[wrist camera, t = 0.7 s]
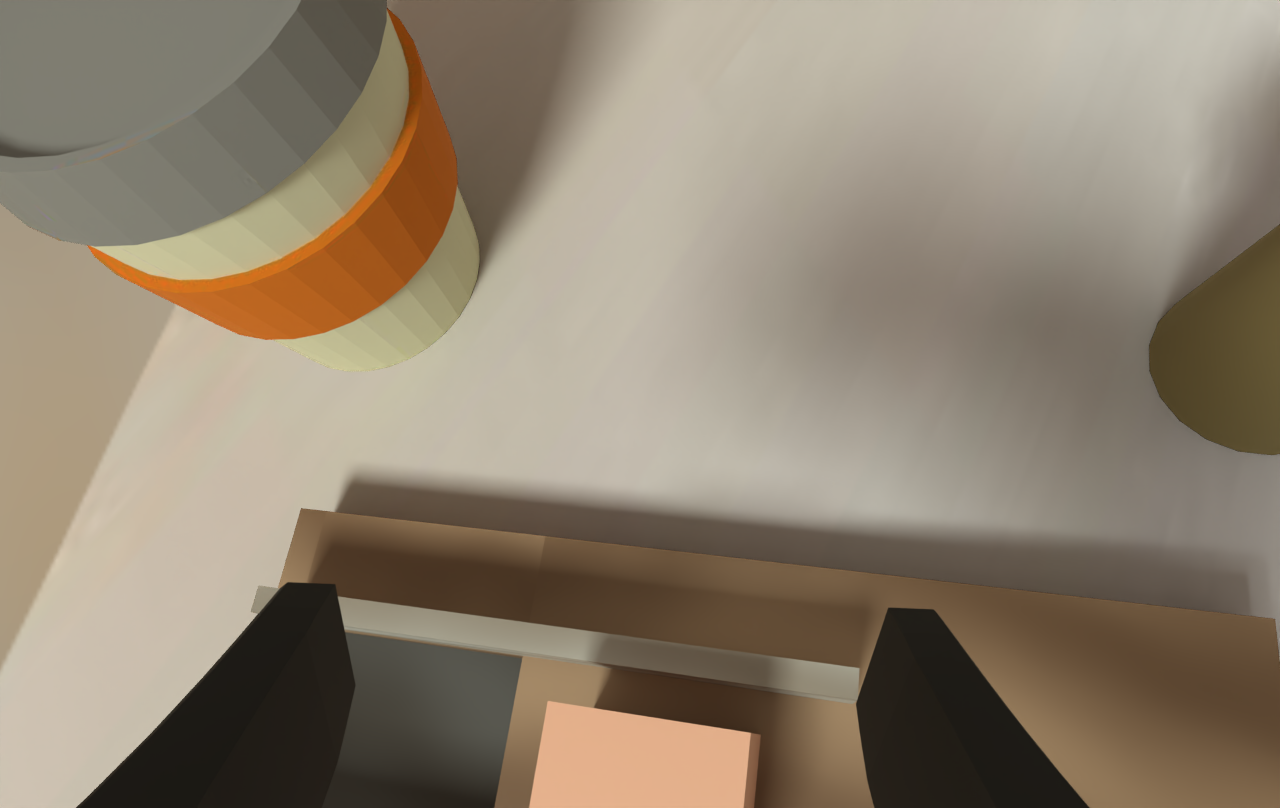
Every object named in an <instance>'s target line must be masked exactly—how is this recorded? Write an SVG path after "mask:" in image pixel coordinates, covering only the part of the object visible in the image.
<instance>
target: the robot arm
mask: <svg viewBox="0 0 1280 808" xmlns="http://www.w3.org/2000/svg"><path fill="white" fill-rule="evenodd" d="M355 686H356V684H355V679H354V674H353V669H352V664H351V659H350V654H349V649H348V644H347V640H346V635H345V630H344V625H343V620H342V615H341V610H340V605H339V600H338V595H337V590H336V585H335V584H321V583H298V582H287V583H286V584H285V585H283V586H282V587H281V588H280V589H279V590H278V591H277V592H276V593H275V595H274V596H273V597H272V598H271V599H270V601H269V602H268V603H267V604H266V605H265V606H264V608H263V609H262V610H261V611H260V612H259V614H258V615H257V616H256V617H255V618H254V619H253V621H252V622H251V623H250V624H249V625H248V626H247V628H246V629H245V630H244V631H243V632H242V634H241V635H240V636H239V637H238V638H237V639H236V640H235V642H234V643H233V644H232V645H231V646H230V647H229V648H228V650H227V651H226V652H225V653H224V654H223V655H222V656H221V658H220V659H219V660H218V661H217V662H216V663H215V664H214V665H213V667H212V668H211V669H210V670H209V671H208V672H207V673H206V675H205V676H204V677H203V678H202V679H201V680H200V681H199V682H198V683H197V684H196V685H195V687H194V688H193V689H192V690H191V691H190V692H189V693H188V694H187V695H186V696H185V697H184V698H183V699H182V701H181V702H180V703H179V704H178V705H177V706H176V707H175V708H174V709H173V710H172V711H171V712H170V714H169V715H168V716H167V717H166V718H165V719H164V720H163V721H162V722H161V723H160V724H159V725H158V726H157V728H156V729H155V730H154V731H153V732H152V733H151V734H150V735H149V736H148V737H147V738H146V739H145V740H144V741H143V742H142V743H141V744H140V745H139V746H138V747H137V748H136V749H135V750H134V751H133V752H132V753H131V754H130V755H129V756H128V757H127V758H126V759H125V760H124V761H123V762H122V763H121V764H120V765H119V766H118V767H117V768H116V769H115V770H114V771H113V772H112V773H111V774H110V775H109V776H108V777H107V778H106V779H105V780H104V781H103V782H102V783H101V784H100V785H99V786H98V787H97V788H96V789H95V790H94V791H93V792H92V793H91V794H90V795H89V796H88V797H87V798H86V799H85V800H84V801H83V802H82V803H81V804H79V805H78V806H77V807H76V808H322V806H323V803H324V800H325V797H326V794H327V792H328V789H329V786H330V783H331V780H332V777H333V774H334V771H335V769H336V766H337V763H338V759H339V755H340V750H341V746H342V742H343V738H344V734H345V730H346V726H347V721H348V717H349V713H350V708H351V704H352V699H353V695H354V690H355ZM856 709H857V716H858V723H859V730H860V738H861V745H862V751H863V757H864V763H865V770H866V776H867V782H868V786H869V789H870V793H871V797H872V801H873V805H874V808H1090V807H1089V806H1088V805H1087V804H1086V803H1085V801H1084V800H1083V799H1082V798H1081V797H1080V796H1079V794H1078V793H1077V792H1076V791H1075V790H1074V788H1073V787H1072V786H1071V785H1070V784H1069V783H1068V781H1067V780H1066V779H1065V778H1064V777H1063V775H1062V774H1061V773H1060V772H1059V771H1058V769H1057V768H1056V767H1055V766H1054V764H1053V763H1052V762H1051V761H1050V759H1049V758H1048V757H1047V756H1046V754H1045V753H1044V752H1043V751H1042V750H1041V748H1040V747H1039V746H1038V745H1037V743H1036V742H1035V741H1034V740H1033V738H1032V737H1031V736H1030V735H1029V733H1028V732H1027V731H1026V730H1025V728H1024V727H1023V726H1022V725H1021V723H1020V722H1019V721H1018V720H1017V718H1016V717H1015V716H1014V714H1013V713H1012V712H1011V711H1010V709H1009V708H1008V707H1007V705H1006V704H1005V703H1004V701H1003V700H1002V699H1001V698H1000V696H999V695H998V694H997V692H996V691H995V690H994V688H993V687H992V686H991V684H990V683H989V682H988V680H987V679H986V678H985V676H984V675H983V674H982V672H981V671H980V670H979V668H978V667H977V666H976V664H975V663H974V662H973V660H972V659H971V658H970V656H969V655H968V654H967V652H966V651H965V650H964V648H963V647H962V645H961V644H960V643H959V641H958V640H957V639H956V637H955V636H954V635H953V633H952V632H951V631H950V629H949V628H948V627H947V625H946V624H945V622H944V621H943V620H942V618H941V617H940V616H939V615H938V613H937V612H936V611H935V610H934V609H914V608H890V607H888V610H887V613H886V616H885V619H884V622H883V625H882V628H881V631H880V633H879V636H878V639H877V642H876V645H875V648H874V651H873V654H872V657H871V660H870V663H869V666H868V669H867V672H866V675H865V678H864V681H863V684H862V687H861V690H860V693H859V696H858V699H857V702H856Z"/></svg>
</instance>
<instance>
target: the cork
mask: <svg viewBox="0 0 1280 808" xmlns="http://www.w3.org/2000/svg"><path fill="white" fill-rule="evenodd" d="M1149 359H1150V373H1151V375H1152V378H1153V381H1154V383H1155V386H1156V388H1157V391H1158V393H1159V396H1160V397H1161V399H1162V400H1163V401H1164V402H1165V404H1166V405H1167V406H1168V407H1169V408H1170V410H1171V411H1172V412H1173V413H1174V414H1175V416H1176V417H1177V418H1178V419H1179V420H1180V421H1181V422H1182V423H1184V424H1185V425H1187V426H1188V427H1190V428H1191V429H1192V430H1194V431H1195V432H1197V433H1198V434H1200V435H1201V436H1202V437H1204V438H1205V439H1207V440H1210V441H1212V442H1215V443H1218V444H1220V445H1223V446H1226V447H1228V448H1231V449H1234V450H1236V451H1240V452H1249V453H1258V454H1267V455H1276V454H1280V225H1278V226H1277V227H1276V228H1274V229H1273V230H1272V231H1270V232H1269V233H1268V234H1266V235H1265V236H1264V237H1263V238H1261V239H1260V240H1259V241H1257V242H1256V243H1255V244H1253V245H1252V246H1251V247H1249V248H1248V249H1247V250H1246V251H1244V252H1243V253H1242V254H1240V255H1239V256H1238V257H1236V258H1235V259H1234V260H1232V261H1231V262H1230V263H1228V264H1227V265H1226V266H1225V267H1223V268H1222V269H1221V270H1219V271H1218V272H1217V273H1215V274H1214V275H1213V276H1211V277H1210V278H1209V279H1207V280H1206V281H1205V282H1204V283H1202V284H1201V285H1200V286H1198V287H1197V288H1196V289H1194V290H1193V291H1192V292H1190V293H1189V294H1188V295H1187V296H1185V297H1184V298H1183V299H1181V300H1180V301H1179V302H1177V303H1176V304H1175V305H1174V306H1173V307H1172V308H1171V309H1170V310H1169V311H1168V313H1167V314H1166V315H1165V316H1164V317H1163V318H1162V319H1161V320H1160V321H1159V322H1158V324H1157V327H1156V329H1155V332H1154V335H1153V337H1152V340H1151V342H1150V345H1149Z"/></svg>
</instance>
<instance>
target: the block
mask: <svg viewBox="0 0 1280 808" xmlns="http://www.w3.org/2000/svg"><path fill="white" fill-rule="evenodd" d="M760 738H761V735H759V734H754V733H748V732H742V731H736V730H729V729H723V728H717V727H710V726H704V725H697V724H691V723H685V722H678V721H672V720H666V719H659V718H653V717H647V716H640V715H634V714H628V713H621V712H615V711H609V710H602V709H596V708H590V707H583V706H577V705H571V704H564V703H558V702H552V701H548V702H547V708H546V714H545V720H544V725H543V731H542V737H541V742H540V748H539V754H538V759H537V765H536V771H535V777H534V782H533V788H532V794H531V799H530V805H529V808H754V803H755V792H756V781H757V770H758V760H759V749H760Z"/></svg>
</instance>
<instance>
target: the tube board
mask: <svg viewBox="0 0 1280 808" xmlns="http://www.w3.org/2000/svg"><path fill="white" fill-rule="evenodd" d="M287 582H298V583H321V584H335V585H336V590H337V595H338V600H339V605H340V610H341V615H342V620H343V625H344V630H345V635H346V640H347V644H348V649H349V654H350V659H351V664H352V669H353V674H354V679H355V684H356V686H355V690H354V695H353V699H352V704H351V708H350V713H349V717H348V721H347V726H346V730H345V734H344V738H343V742H342V746H341V750H340V755H339V759H338V763H337V766H336V769H335V771H334V774H333V777H332V780H331V783H330V786H329V789H328V792H327V794H326V797H325V800H324V803H323V806H322V808H529V805H530V799H531V794H532V788H533V782H534V777H535V771H536V765H537V759H538V754H539V748H540V742H541V737H542V731H543V725H544V720H545V714H546V708H547V702H548V701H552V702H558V703H564V704H571V705H577V706H583V707H590V708H596V709H602V710H609V711H615V712H621V713H628V714H634V715H640V716H647V717H653V718H659V719H666V720H672V721H678V722H685V723H691V724H697V725H704V726H710V727H717V728H723V729H729V730H736V731H742V732H748V733H754V734H759V735H761V738H760V749H759V760H758V770H757V781H756V792H755V803H754V808H874V805H873V801H872V797H871V793H870V789H869V786H868V782H867V776H866V770H865V763H864V757H863V751H862V745H861V738H860V730H859V723H858V716H857V709H856V702H857V699H858V696H859V693H860V690H861V687H862V684H863V681H864V678H865V675H866V672H867V669H868V666H869V663H870V660H871V657H872V654H873V651H874V648H875V645H876V642H877V639H878V636H879V633H880V631H881V628H882V625H883V622H884V619H885V616H886V613H887V610H888V607H890V608H914V609H934V610H935V611H936V612H937V613H938V615H939V616H940V617H941V618H942V620H943V621H944V622H945V624H946V625H947V627H948V628H949V629H950V631H951V632H952V633H953V635H954V636H955V637H956V639H957V640H958V641H959V643H960V644H961V645H962V647H963V648H964V650H965V651H966V652H967V654H968V655H969V656H970V658H971V659H972V660H973V662H974V663H975V664H976V666H977V667H978V668H979V670H980V671H981V672H982V674H983V675H984V676H985V678H986V679H987V680H988V682H989V683H990V684H991V686H992V687H993V688H994V690H995V691H996V692H997V694H998V695H999V696H1000V698H1001V699H1002V700H1003V701H1004V703H1005V704H1006V705H1007V707H1008V708H1009V709H1010V711H1011V712H1012V713H1013V714H1014V716H1015V717H1016V718H1017V720H1018V721H1019V722H1020V723H1021V725H1022V726H1023V727H1024V728H1025V730H1026V731H1027V732H1028V733H1029V735H1030V736H1031V737H1032V738H1033V740H1034V741H1035V742H1036V743H1037V745H1038V746H1039V747H1040V748H1041V750H1042V751H1043V752H1044V753H1045V754H1046V756H1047V757H1048V758H1049V759H1050V761H1051V762H1052V763H1053V764H1054V766H1055V767H1056V768H1057V769H1058V771H1059V772H1060V773H1061V774H1062V775H1063V777H1064V778H1065V779H1066V780H1067V781H1068V783H1069V784H1070V785H1071V786H1072V787H1073V788H1074V790H1075V791H1076V792H1077V793H1078V794H1079V796H1080V797H1081V798H1082V799H1083V800H1084V801H1085V803H1086V804H1087V805H1088V806H1089V807H1090V808H1280V661H1279V651H1278V642H1277V632H1276V623H1275V619H1272V618H1263V617H1254V616H1245V615H1236V614H1228V613H1219V612H1210V611H1201V610H1192V609H1184V608H1175V607H1166V606H1157V605H1148V604H1140V603H1131V602H1122V601H1113V600H1104V599H1095V598H1087V597H1078V596H1069V595H1060V594H1051V593H1043V592H1034V591H1025V590H1016V589H1007V588H999V587H990V586H981V585H972V584H963V583H954V582H946V581H937V580H928V579H919V578H910V577H902V576H893V575H884V574H875V573H866V572H858V571H849V570H840V569H831V568H822V567H813V566H805V565H796V564H787V563H778V562H769V561H761V560H752V559H743V558H734V557H725V556H717V555H708V554H699V553H690V552H681V551H672V550H664V549H655V548H646V547H637V546H628V545H620V544H611V543H602V542H593V541H584V540H576V539H567V538H558V537H549V536H540V535H532V534H523V533H514V532H505V531H496V530H487V529H479V528H470V527H461V526H452V525H443V524H435V523H426V522H417V521H408V520H399V519H391V518H382V517H373V516H364V515H355V514H346V513H338V512H329V511H320V510H311V509H302V508H301V511H300V514H299V518H298V521H297V524H296V528H295V531H294V535H293V538H292V542H291V545H290V548H289V552H288V555H287V559H286V562H285V566H284V569H283V572H282V576H281V579H280V583H279V586H278V588H272V587H265V586H258V589H257V593H256V596H255V599H254V603H253V606H252V609H251V612H253V613H258V614H259V612H260V611H261V610H262V609H263V608H264V606H265V605H266V604H267V603H268V602H269V601H270V599H271V598H272V597H273V596H274V595H275V593H276V592H277V591H278V590H279V589H280V588H281V587H282V586H283V585H285V584H286V583H287Z"/></svg>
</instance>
